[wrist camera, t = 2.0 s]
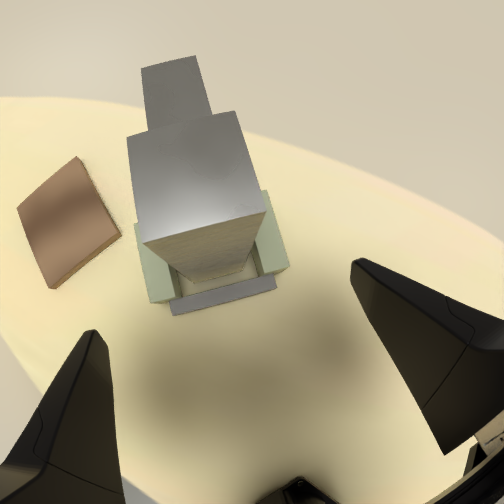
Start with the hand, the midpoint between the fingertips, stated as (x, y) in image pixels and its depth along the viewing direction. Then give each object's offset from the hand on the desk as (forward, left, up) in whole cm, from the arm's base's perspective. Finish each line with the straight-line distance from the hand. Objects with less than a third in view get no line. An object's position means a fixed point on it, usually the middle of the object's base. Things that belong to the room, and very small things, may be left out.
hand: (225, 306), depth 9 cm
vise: (+3, -2, -11) cm, 11 cm away
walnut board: (+13, +6, -11) cm, 18 cm away
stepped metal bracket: (+5, -2, -11) cm, 12 cm away
